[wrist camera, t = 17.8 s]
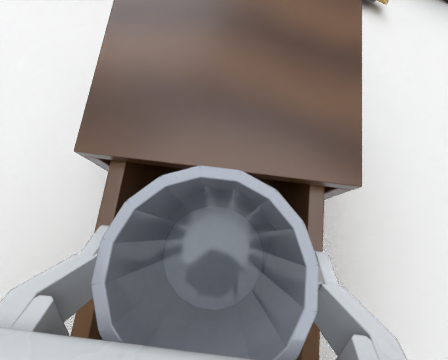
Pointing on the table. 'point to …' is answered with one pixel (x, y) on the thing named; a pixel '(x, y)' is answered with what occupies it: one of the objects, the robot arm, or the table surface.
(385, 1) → the computer mouse
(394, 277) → the table surface
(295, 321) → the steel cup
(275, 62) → the cabinet
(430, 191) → the table surface
